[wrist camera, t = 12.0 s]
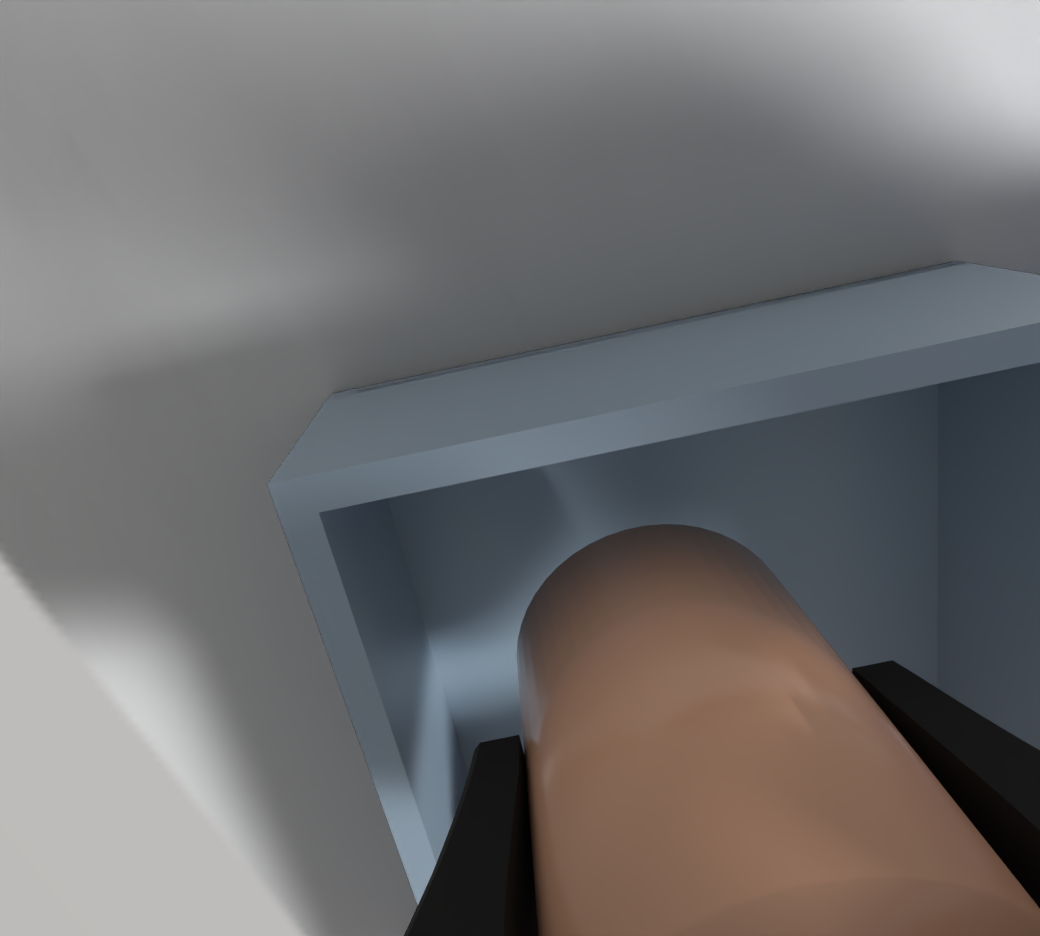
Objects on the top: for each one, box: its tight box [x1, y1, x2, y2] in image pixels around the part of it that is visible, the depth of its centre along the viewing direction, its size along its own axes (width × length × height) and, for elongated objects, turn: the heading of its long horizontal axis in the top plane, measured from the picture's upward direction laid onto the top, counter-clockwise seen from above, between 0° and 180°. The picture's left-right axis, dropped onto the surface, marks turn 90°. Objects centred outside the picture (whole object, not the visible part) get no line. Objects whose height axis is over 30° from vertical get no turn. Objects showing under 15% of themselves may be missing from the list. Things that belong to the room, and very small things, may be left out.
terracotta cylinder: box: [517, 524, 1040, 936], centre depth 10 cm, size 5×5×7 cm
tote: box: [267, 261, 1040, 905], centre depth 16 cm, size 13×17×5 cm
